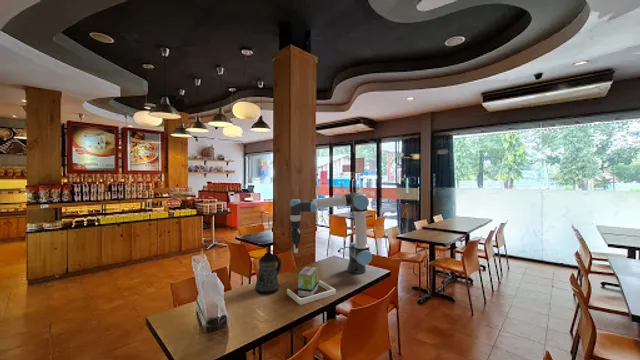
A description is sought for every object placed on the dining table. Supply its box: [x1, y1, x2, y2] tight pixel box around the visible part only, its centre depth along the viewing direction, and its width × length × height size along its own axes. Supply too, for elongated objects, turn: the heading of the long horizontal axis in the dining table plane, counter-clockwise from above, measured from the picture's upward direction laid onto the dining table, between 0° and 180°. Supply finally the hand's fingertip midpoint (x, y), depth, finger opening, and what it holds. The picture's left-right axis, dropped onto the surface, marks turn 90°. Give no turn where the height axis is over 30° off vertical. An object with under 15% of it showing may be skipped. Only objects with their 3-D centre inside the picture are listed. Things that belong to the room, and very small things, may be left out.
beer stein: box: [254, 252, 283, 296], centre depth 188 cm, size 16×19×25 cm
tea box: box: [297, 266, 319, 297], centre depth 183 cm, size 15×10×15 cm, turn 164°
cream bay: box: [286, 280, 337, 306], centre depth 180 cm, size 27×18×3 cm
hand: (295, 252), depth 198 cm, fingers closed
